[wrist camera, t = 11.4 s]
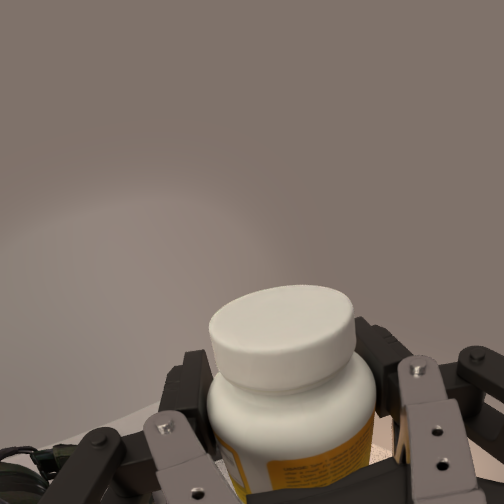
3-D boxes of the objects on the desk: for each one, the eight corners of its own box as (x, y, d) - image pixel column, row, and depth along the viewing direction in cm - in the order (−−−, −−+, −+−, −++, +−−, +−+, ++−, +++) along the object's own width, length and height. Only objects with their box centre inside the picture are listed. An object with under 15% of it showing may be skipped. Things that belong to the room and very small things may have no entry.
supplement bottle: (222, 519, 10) (140, 343, 8) (277, 445, 14) (245, 275, 12) (339, 556, 7) (349, 383, 5) (378, 463, 11) (389, 276, 9)
